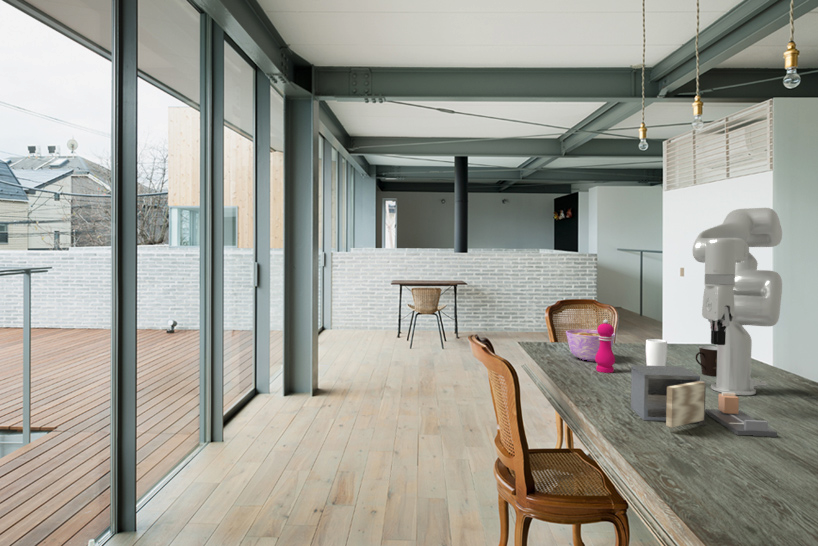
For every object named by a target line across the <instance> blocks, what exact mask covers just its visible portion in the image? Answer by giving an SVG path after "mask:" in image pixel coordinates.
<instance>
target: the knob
mask: <svg viewBox="0 0 818 546" xmlns="http://www.w3.org/2000/svg"><path fill="white" fill-rule="evenodd" d="M739 400H740V399H739V397H738V396H737V395H735V393H726V392H721V393H718V401H717V405H718V407H717V410H720V411H722V412H723V413H731V414H738V410H740V409H739V407H740V406H739V404H740V401H739Z"/></svg>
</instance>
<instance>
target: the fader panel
mask: <svg viewBox="0 0 818 546" xmlns="http://www.w3.org/2000/svg"><path fill="white" fill-rule="evenodd" d="M705 415H708V416H709V417H711V418H712V419H713V420H715V421H716V422H718V423H719V424H721V425H722V426H724V427H725V428H727V429H728V430H729V431H731V432H732V433H734V434H735V435H736V434H737V436H742V435H753V436H752V437H764V436H767V437H768V438H770V437H771V438H777V436H778V434H777V433H778V432H777V431H776V430H774V429H773V428H771V427H769V422H768V421H767V420H757V419H755V418H754V417H752V416H750V415H749V414H747V413H745V412H743V411H742V410H740V409H739V410H738V414H731V413H723V412H722V411H720V410H718V408H716V409H712V408H709V409H708V408H705Z"/></svg>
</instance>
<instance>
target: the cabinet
mask: <svg viewBox="0 0 818 546" xmlns="http://www.w3.org/2000/svg"><path fill="white" fill-rule="evenodd" d="M630 376H631V379H630V380H631V381H630V409H632V410H633V411H634V412H635V413H636V414H637V416H639V417H640V418H641V419H642V420H643V421H648V422H649V421H651V422H652V421H653V422H654V421H655V422H666V409H667V387H669V386H674V385H680V384H686V383H691V382H697V381H701V380H700V379H701V377H700V375H698V374H697V373H694V372H693V371H691V370H690V369H688V368H686V367H684V366H675V365H674V366H673V365H670V366H669V365H666V366H647V365H644V364H643V365H640V364H639V365H638V364H633V365H631V374H630ZM695 423H697V424H700V421H698V422H695Z"/></svg>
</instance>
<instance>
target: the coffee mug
mask: <svg viewBox="0 0 818 546" xmlns="http://www.w3.org/2000/svg"><path fill="white" fill-rule="evenodd" d="M698 350H699V352H697V353H696V354H695V361H696V363H697V364H698V365H699V366H700V371H701V374H702V375H704V376H708V377H717V346H715V345H714V346H712V345H701V346H700V345H699V347H698ZM698 356H699V358H700V359H699V360H700V361H699V360H698Z"/></svg>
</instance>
